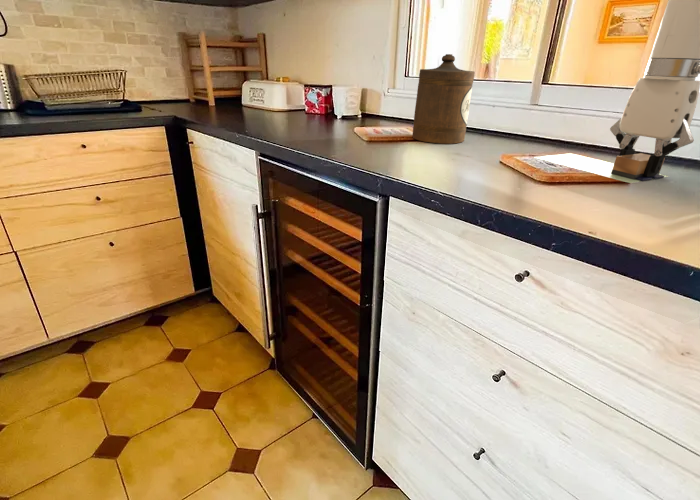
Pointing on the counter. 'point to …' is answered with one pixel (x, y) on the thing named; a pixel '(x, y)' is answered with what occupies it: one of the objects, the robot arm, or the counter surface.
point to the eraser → (631, 165)
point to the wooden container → (442, 103)
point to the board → (586, 165)
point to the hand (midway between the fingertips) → (635, 171)
